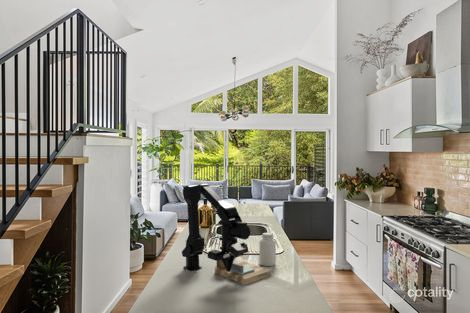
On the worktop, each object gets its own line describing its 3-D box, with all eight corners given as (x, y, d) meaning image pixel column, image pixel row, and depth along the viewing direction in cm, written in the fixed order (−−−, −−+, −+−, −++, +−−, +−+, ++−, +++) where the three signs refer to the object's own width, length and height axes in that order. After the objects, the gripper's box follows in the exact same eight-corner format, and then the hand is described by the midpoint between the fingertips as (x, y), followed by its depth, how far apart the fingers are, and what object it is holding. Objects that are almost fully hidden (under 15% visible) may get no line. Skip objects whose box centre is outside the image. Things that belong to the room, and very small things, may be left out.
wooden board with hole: (214, 272, 167) (214, 267, 167) (240, 264, 178) (240, 260, 178) (244, 284, 152) (244, 278, 152) (270, 275, 163) (270, 270, 163)
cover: (229, 270, 162) (229, 262, 162) (242, 266, 168) (242, 258, 168) (241, 274, 156) (241, 266, 156) (254, 270, 162) (254, 262, 162)
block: (216, 267, 167) (216, 254, 167) (223, 265, 170) (223, 252, 170) (222, 269, 164) (222, 256, 164) (230, 267, 167) (229, 254, 167)
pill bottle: (276, 262, 182) (276, 232, 182) (274, 267, 174) (274, 236, 174) (261, 260, 184) (261, 231, 184) (258, 265, 176) (258, 235, 176)
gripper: (223, 243, 144) (223, 282, 144) (256, 235, 157) (256, 271, 157) (206, 237, 152) (206, 274, 153) (239, 230, 165) (239, 265, 165)
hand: (228, 271), depth 157 cm, fingers closed
